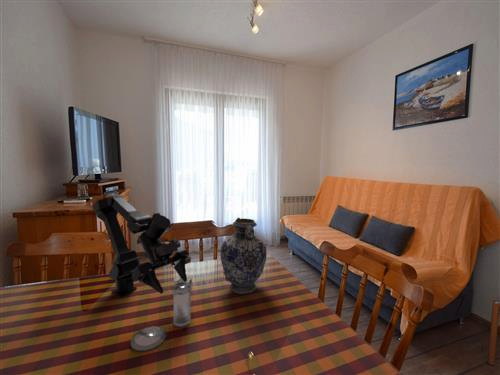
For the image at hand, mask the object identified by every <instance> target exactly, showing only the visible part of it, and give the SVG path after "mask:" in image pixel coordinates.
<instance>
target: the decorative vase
mask: <svg viewBox="0 0 500 375" xmlns="http://www.w3.org/2000/svg"><path fill="white" fill-rule="evenodd" d="M234 220H235V221H233V223H232V226H233V227H235V230H234V231H235V232H234V233H233V234H231V235H228V236H227V237H226V238H225V239H224V241H223V242H222V244H221V247H220V260H221V261H220V262H221V266H222V269H223V276H225V281H226V282H229V283H230V285H229V286H230V287H229V288H230V290H231V292H234V293H235V294H239V295H247V294H251V293H254V292H255V291H256V290H257V285H256V282H257V281H258V280H259V278H260V277H261V275H262V274H263V272H264V269H265V265H266V262H267V245H266V243H265V241H264V239H263V238H261V237H260V236H258V235H256V234H255V232H256V231H255V227H257V223H256V222H255V220H254V219H250V218H240V217H237V218H236V219H234Z"/></svg>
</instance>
